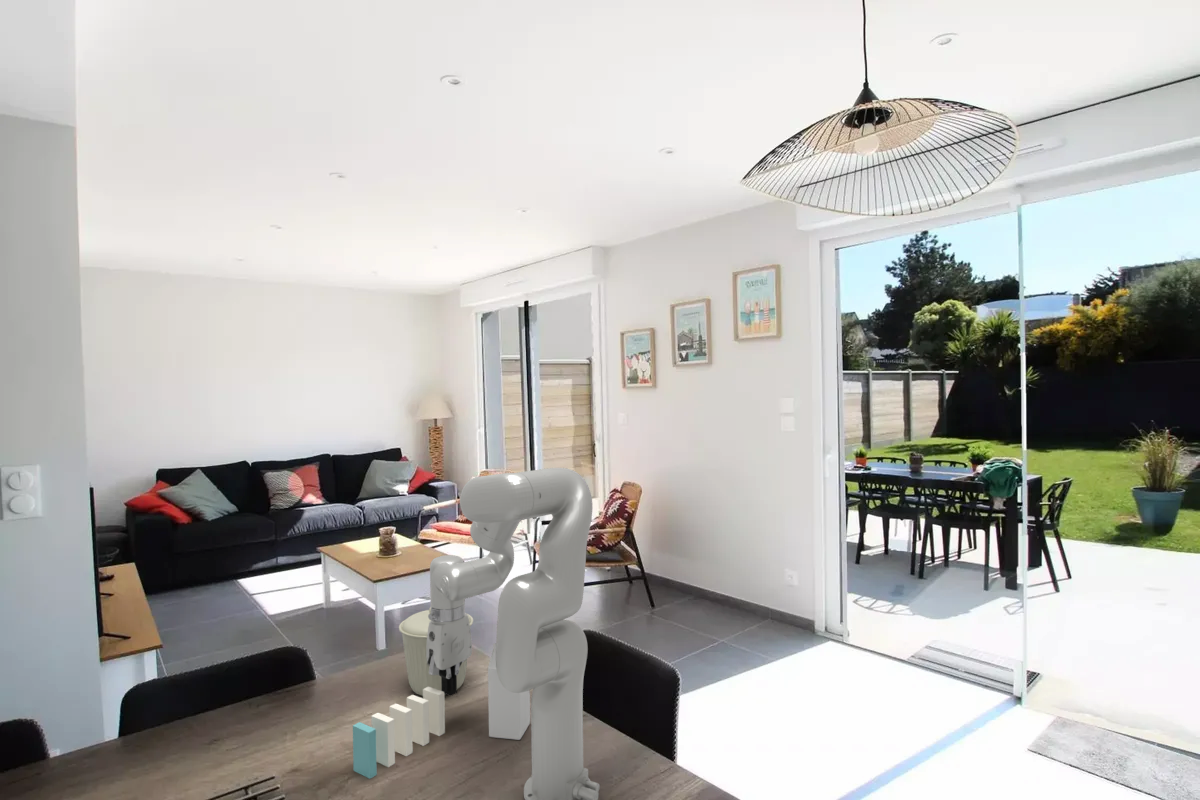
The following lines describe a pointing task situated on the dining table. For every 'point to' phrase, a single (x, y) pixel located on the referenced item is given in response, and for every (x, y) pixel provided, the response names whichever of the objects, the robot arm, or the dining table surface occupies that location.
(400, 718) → the domino
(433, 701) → the domino
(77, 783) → the dining table surface
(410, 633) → the canister
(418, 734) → the domino
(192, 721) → the dining table surface
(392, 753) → the domino
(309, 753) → the dining table surface
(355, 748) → the domino
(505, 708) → the milk carton
